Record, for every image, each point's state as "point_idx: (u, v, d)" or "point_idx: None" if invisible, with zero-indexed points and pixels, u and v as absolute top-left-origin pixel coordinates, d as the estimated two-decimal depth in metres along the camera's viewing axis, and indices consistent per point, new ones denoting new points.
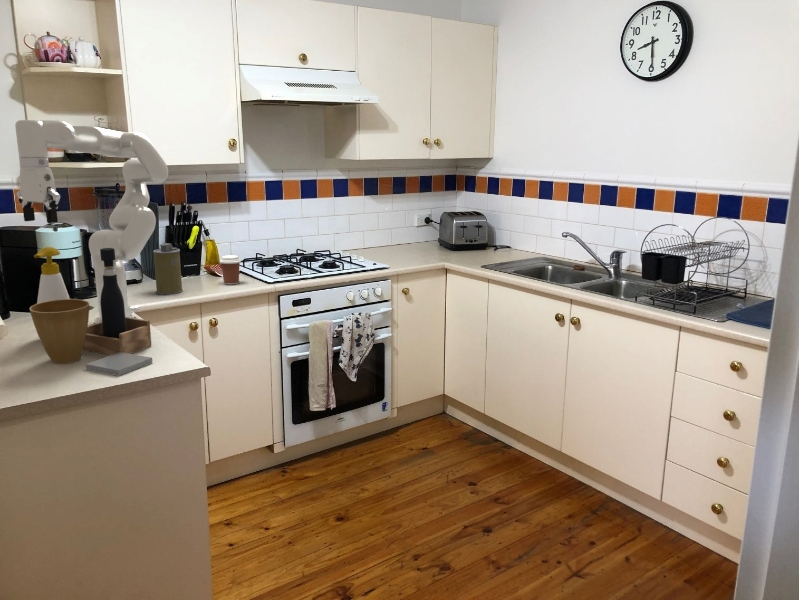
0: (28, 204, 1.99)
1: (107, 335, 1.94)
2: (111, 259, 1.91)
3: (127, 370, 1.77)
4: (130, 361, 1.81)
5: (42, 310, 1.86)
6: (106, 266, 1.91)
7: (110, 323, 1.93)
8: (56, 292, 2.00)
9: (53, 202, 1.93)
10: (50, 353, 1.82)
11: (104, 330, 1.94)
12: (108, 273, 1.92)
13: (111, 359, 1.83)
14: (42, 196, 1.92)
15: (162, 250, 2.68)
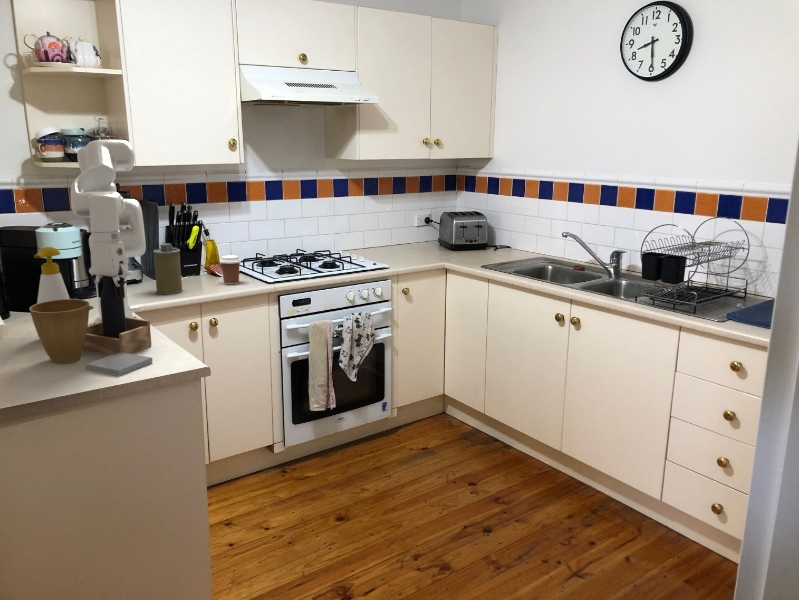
0: (102, 279, 1.95)
1: (107, 335, 1.94)
2: None
3: (127, 370, 1.77)
4: (130, 361, 1.81)
5: (42, 310, 1.86)
6: None
7: (110, 323, 1.93)
8: (57, 292, 2.00)
9: (122, 279, 1.90)
10: (50, 353, 1.82)
11: (104, 330, 1.94)
12: None
13: (111, 359, 1.83)
14: (114, 271, 1.89)
15: (162, 250, 2.68)
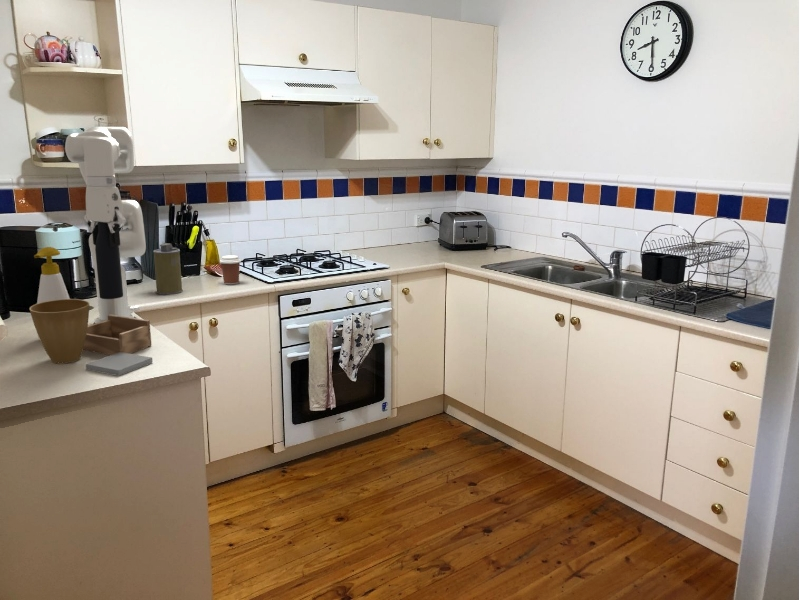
0: (97, 226, 1.92)
1: (102, 283, 1.91)
2: None
3: (127, 370, 1.77)
4: (130, 361, 1.81)
5: (42, 310, 1.86)
6: None
7: (105, 271, 1.90)
8: (57, 292, 2.00)
9: (117, 225, 1.87)
10: (50, 353, 1.82)
11: (99, 278, 1.91)
12: None
13: (111, 359, 1.83)
14: (110, 216, 1.86)
15: (162, 250, 2.68)
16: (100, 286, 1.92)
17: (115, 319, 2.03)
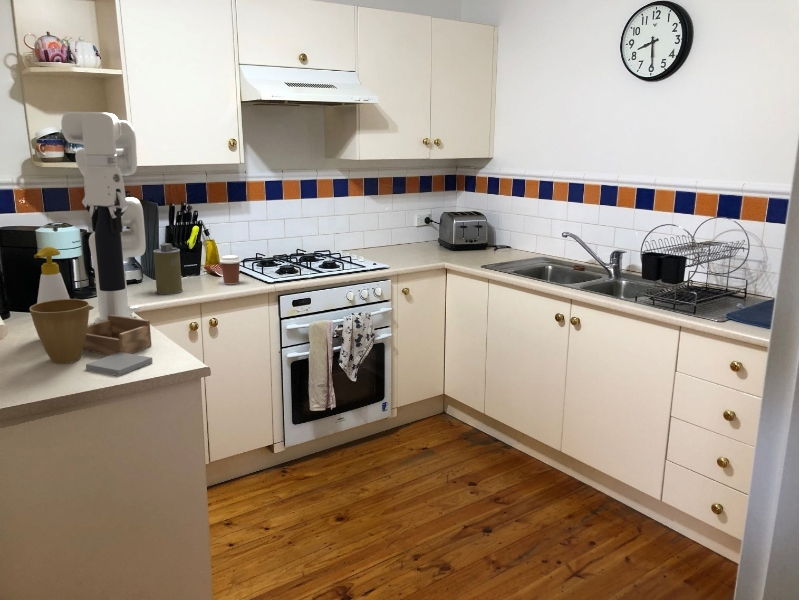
0: (96, 211, 1.74)
1: (102, 273, 1.73)
2: None
3: (127, 370, 1.77)
4: (130, 361, 1.81)
5: (42, 310, 1.86)
6: None
7: (106, 260, 1.72)
8: (57, 292, 2.00)
9: (119, 210, 1.69)
10: (50, 353, 1.82)
11: (99, 268, 1.73)
12: None
13: (111, 359, 1.83)
14: (111, 199, 1.68)
15: (162, 250, 2.68)
16: (100, 277, 1.74)
17: (115, 319, 2.03)
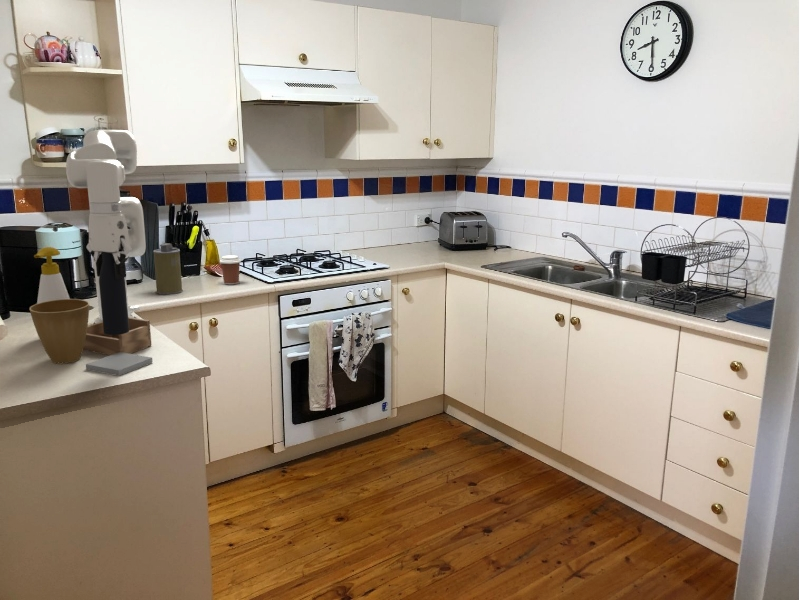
0: (101, 256, 1.77)
1: (106, 318, 1.76)
2: None
3: (127, 370, 1.77)
4: (130, 361, 1.81)
5: (42, 310, 1.86)
6: None
7: (110, 305, 1.75)
8: (57, 292, 2.00)
9: (123, 256, 1.72)
10: (50, 353, 1.82)
11: (103, 312, 1.76)
12: None
13: (111, 359, 1.83)
14: (115, 246, 1.71)
15: (162, 250, 2.69)
16: (104, 321, 1.76)
17: None
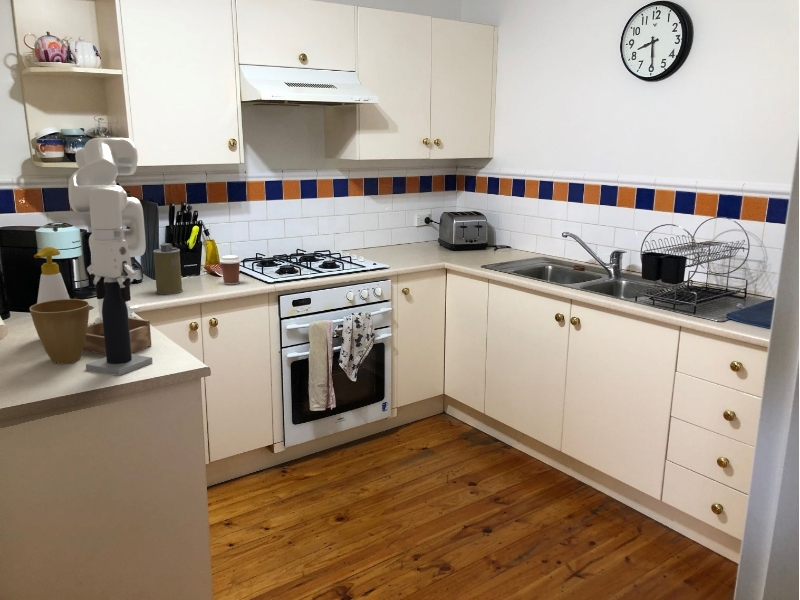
0: (101, 280, 1.79)
1: (109, 347, 1.78)
2: None
3: (127, 370, 1.77)
4: (130, 361, 1.81)
5: (42, 310, 1.86)
6: None
7: (113, 334, 1.77)
8: (57, 292, 2.00)
9: (127, 280, 1.73)
10: (50, 353, 1.82)
11: (106, 342, 1.78)
12: (110, 279, 1.75)
13: None
14: (117, 272, 1.72)
15: (162, 250, 2.69)
16: (107, 350, 1.79)
17: None
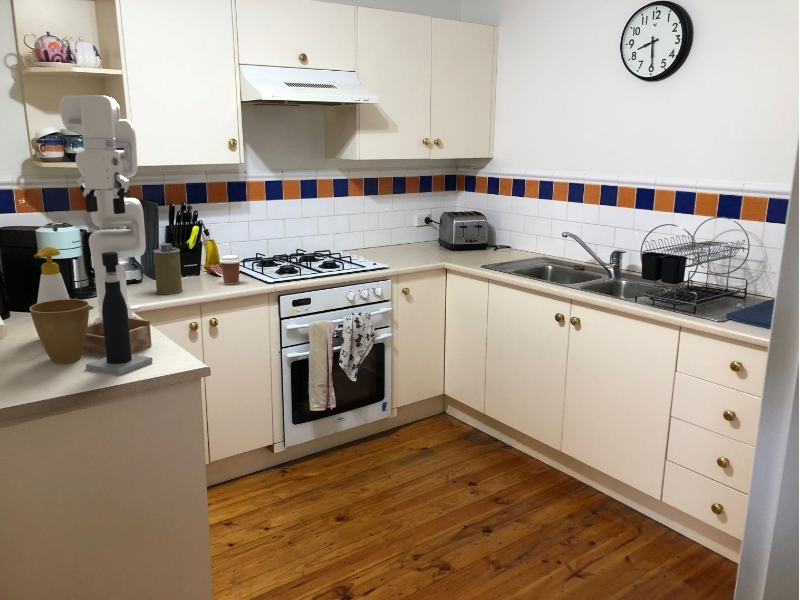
0: (91, 192, 1.74)
1: (109, 347, 1.78)
2: (114, 264, 1.75)
3: (127, 370, 1.77)
4: (130, 361, 1.81)
5: (42, 310, 1.86)
6: (108, 272, 1.75)
7: (113, 334, 1.77)
8: (57, 292, 2.00)
9: (122, 190, 1.68)
10: (50, 353, 1.82)
11: (106, 341, 1.78)
12: (111, 279, 1.75)
13: None
14: (109, 183, 1.67)
15: (162, 250, 2.68)
16: (107, 350, 1.79)
17: None
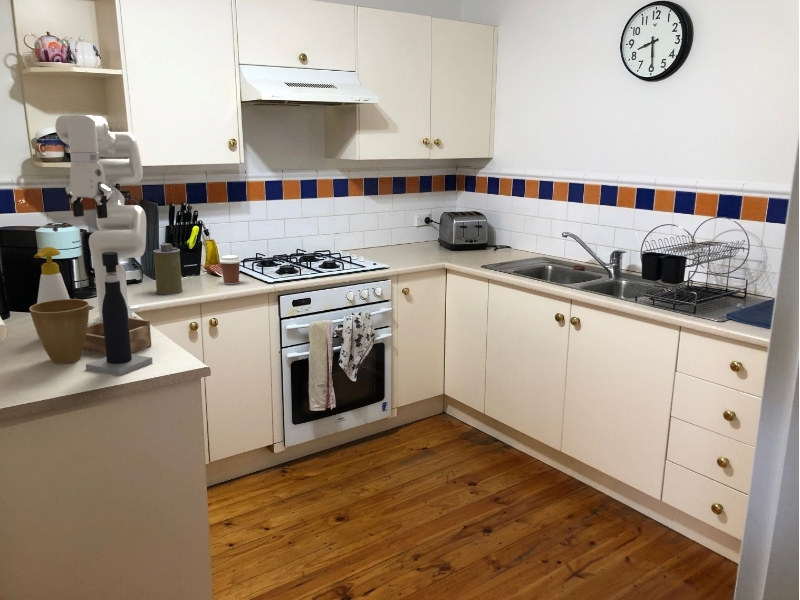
0: (77, 199, 1.98)
1: (109, 347, 1.78)
2: (114, 264, 1.75)
3: (127, 370, 1.77)
4: (130, 361, 1.81)
5: (42, 310, 1.86)
6: (108, 272, 1.75)
7: (113, 334, 1.77)
8: (57, 292, 2.00)
9: (104, 197, 1.92)
10: (50, 353, 1.82)
11: (106, 341, 1.78)
12: (111, 279, 1.75)
13: None
14: (93, 191, 1.92)
15: (162, 250, 2.68)
16: (107, 350, 1.79)
17: None
